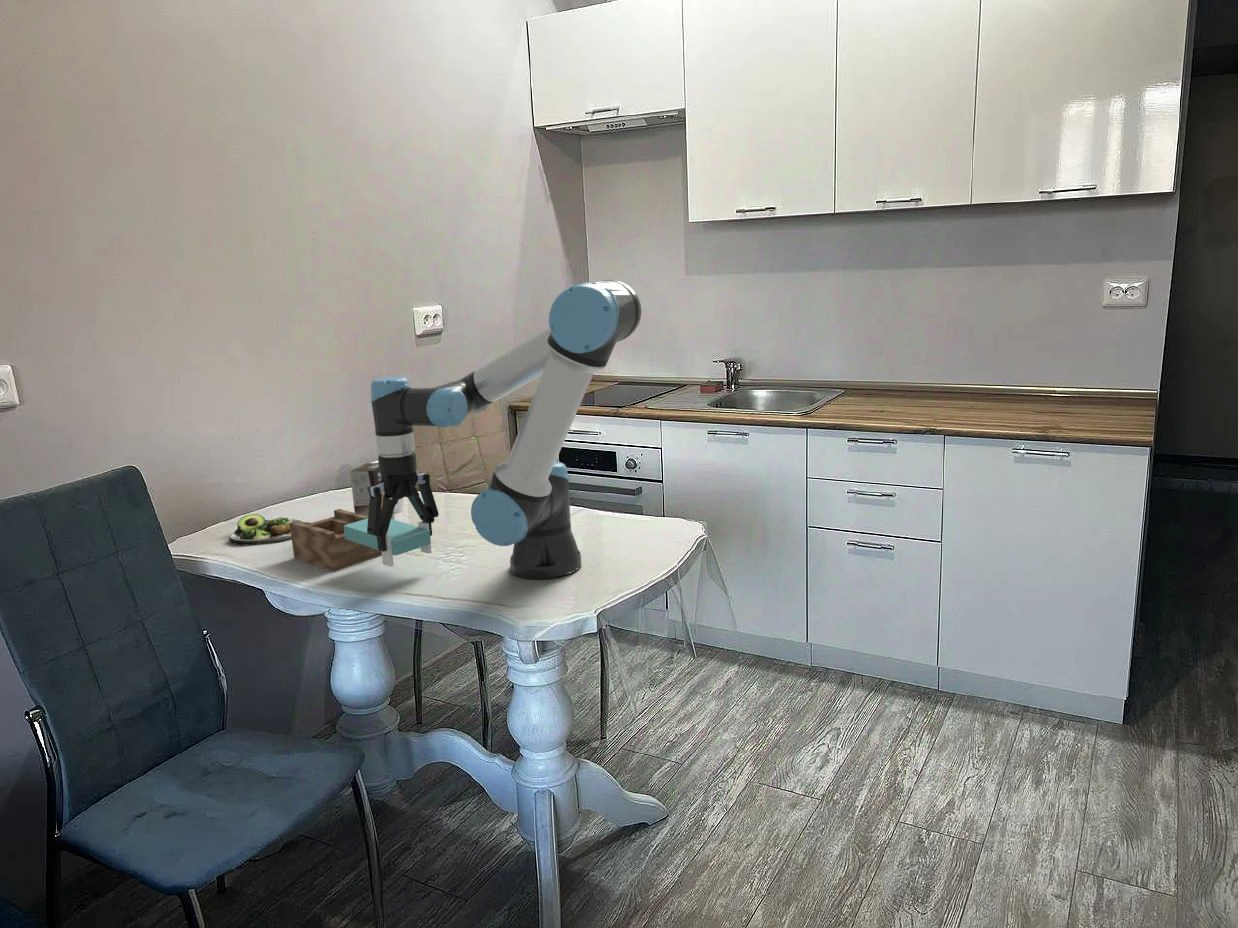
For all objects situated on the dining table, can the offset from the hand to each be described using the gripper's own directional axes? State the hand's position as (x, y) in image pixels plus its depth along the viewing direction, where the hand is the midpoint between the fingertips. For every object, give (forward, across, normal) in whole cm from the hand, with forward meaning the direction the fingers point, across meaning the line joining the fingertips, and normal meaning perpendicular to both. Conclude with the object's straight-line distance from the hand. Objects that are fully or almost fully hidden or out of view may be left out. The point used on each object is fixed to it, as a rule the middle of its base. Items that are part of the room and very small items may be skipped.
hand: (407, 558), depth 195 cm
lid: (-3, 0, -7) cm, 7 cm away
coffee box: (+5, -18, -38) cm, 42 cm away
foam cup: (+5, -31, -48) cm, 58 cm away
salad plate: (+5, 0, -58) cm, 59 cm away
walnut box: (+5, 0, -26) cm, 27 cm away
